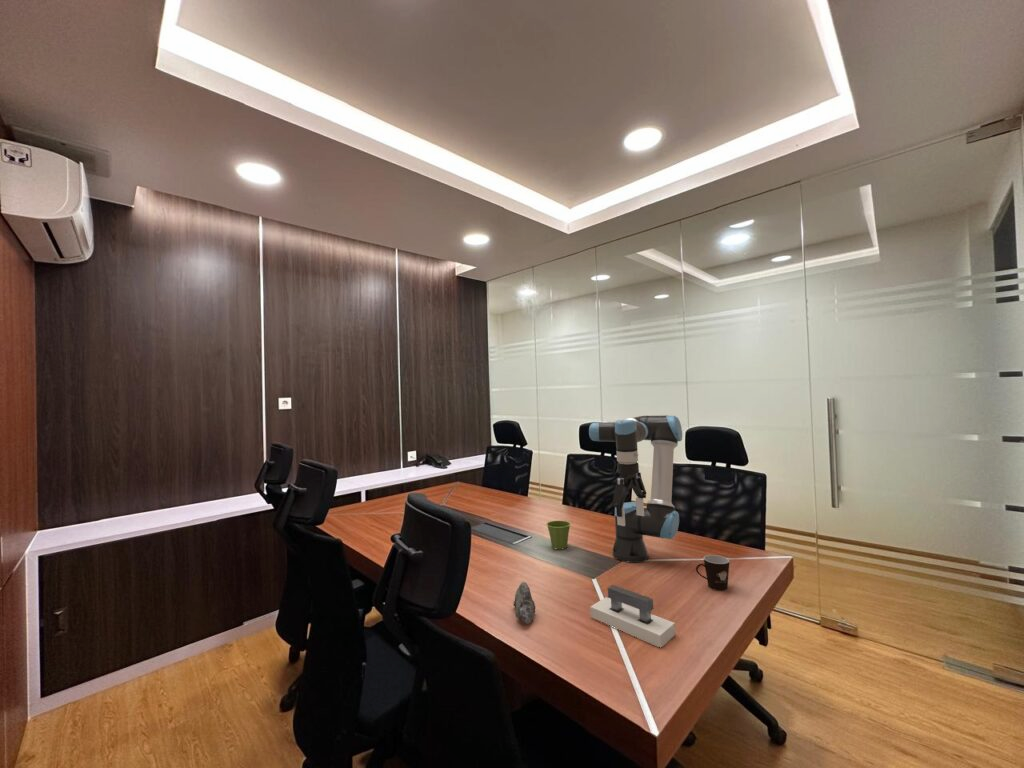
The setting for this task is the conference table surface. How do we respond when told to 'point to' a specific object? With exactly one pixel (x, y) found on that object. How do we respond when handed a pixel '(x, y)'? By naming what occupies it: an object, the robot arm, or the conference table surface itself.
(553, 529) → the plant pot
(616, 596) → the dark grey u-shaped bracket
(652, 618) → the white slotted block
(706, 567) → the coffee mug
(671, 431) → the robot arm
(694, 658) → the conference table surface
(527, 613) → the mineral rock
